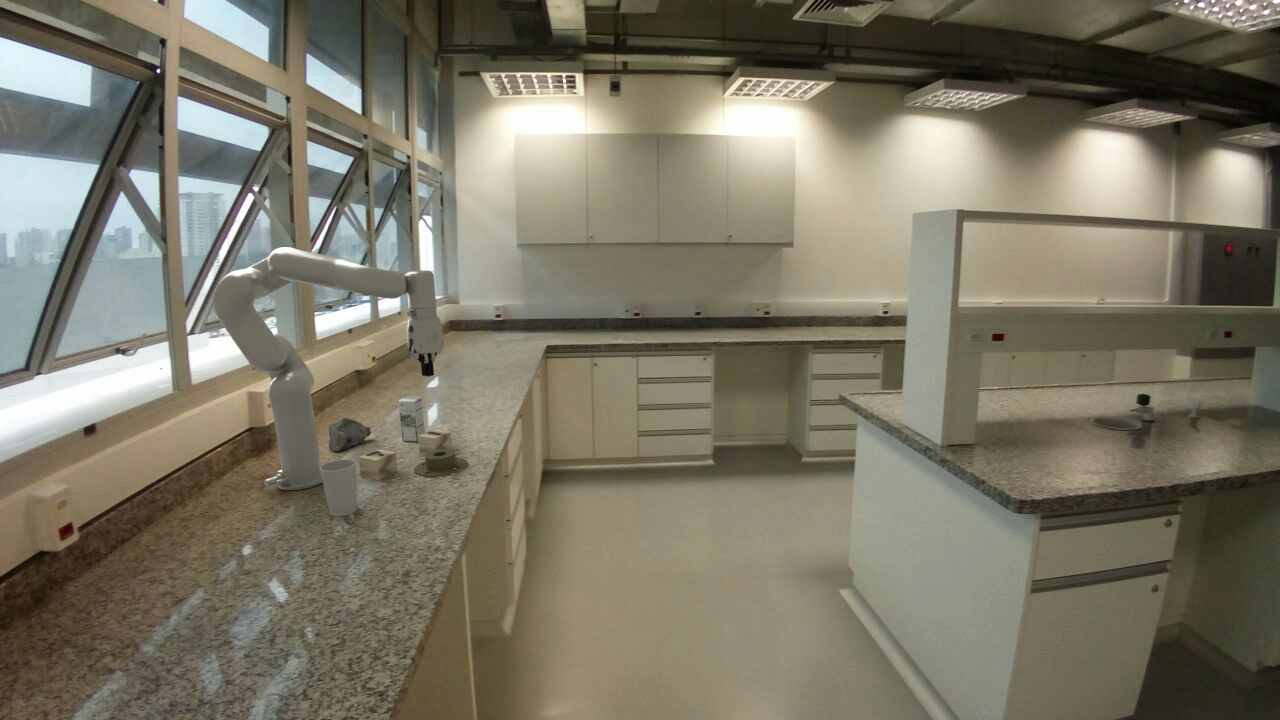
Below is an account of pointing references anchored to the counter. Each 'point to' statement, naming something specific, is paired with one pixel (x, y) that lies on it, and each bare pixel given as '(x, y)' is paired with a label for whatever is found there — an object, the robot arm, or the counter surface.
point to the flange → (440, 463)
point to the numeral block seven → (378, 464)
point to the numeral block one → (434, 441)
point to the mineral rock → (347, 434)
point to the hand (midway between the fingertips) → (427, 375)
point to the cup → (340, 486)
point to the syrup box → (411, 418)
